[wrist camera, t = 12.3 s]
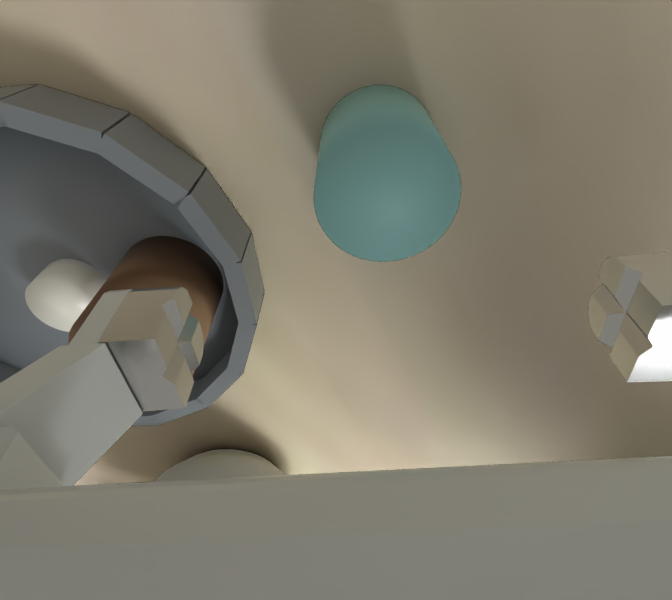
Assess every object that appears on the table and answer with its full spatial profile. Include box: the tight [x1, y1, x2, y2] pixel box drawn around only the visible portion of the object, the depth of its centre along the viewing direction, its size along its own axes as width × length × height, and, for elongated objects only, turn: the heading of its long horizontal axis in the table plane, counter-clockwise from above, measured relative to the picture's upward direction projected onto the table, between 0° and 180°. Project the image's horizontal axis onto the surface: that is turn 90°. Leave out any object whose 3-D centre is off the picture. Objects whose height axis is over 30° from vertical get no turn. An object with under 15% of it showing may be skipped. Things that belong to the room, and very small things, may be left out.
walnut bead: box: [68, 236, 224, 376], centre depth 19 cm, size 4×4×5 cm
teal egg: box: [314, 85, 461, 262], centre depth 16 cm, size 4×4×5 cm
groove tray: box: [0, 84, 264, 426], centre depth 21 cm, size 17×17×2 cm
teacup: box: [155, 449, 286, 482], centre depth 29 cm, size 14×11×8 cm
